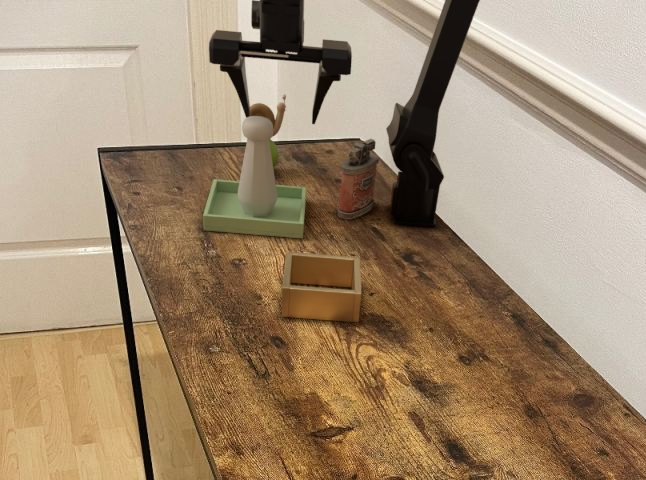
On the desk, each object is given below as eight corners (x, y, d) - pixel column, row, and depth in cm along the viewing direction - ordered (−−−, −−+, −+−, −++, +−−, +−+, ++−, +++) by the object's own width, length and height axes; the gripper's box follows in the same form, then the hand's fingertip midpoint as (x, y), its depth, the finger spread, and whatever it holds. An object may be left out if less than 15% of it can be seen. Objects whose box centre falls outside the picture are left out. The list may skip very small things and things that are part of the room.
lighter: (351, 221, 118) (357, 153, 111) (332, 214, 120) (337, 146, 113) (378, 205, 124) (385, 139, 117) (360, 199, 125) (366, 133, 118)
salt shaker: (258, 223, 113) (258, 129, 104) (229, 210, 116) (227, 117, 107) (284, 212, 117) (287, 120, 108) (256, 199, 119) (256, 108, 110)
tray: (305, 201, 122) (306, 187, 120) (302, 238, 113) (303, 223, 111) (214, 193, 121) (213, 178, 119) (203, 230, 111) (202, 215, 110)
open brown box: (357, 285, 104) (360, 257, 101) (358, 322, 97) (361, 293, 95) (285, 279, 103) (286, 251, 101) (281, 317, 96) (282, 287, 94)
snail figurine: (282, 180, 127) (284, 100, 119) (243, 175, 127) (242, 96, 118) (285, 167, 131) (287, 90, 123) (247, 163, 131) (246, 85, 122)
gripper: (352, -16, 106) (345, 107, 117) (214, -29, 104) (219, 97, 115) (355, 3, 98) (347, 133, 109) (205, -11, 96) (212, 123, 107)
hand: (280, 120), depth 110 cm, fingers open, 9 cm apart
